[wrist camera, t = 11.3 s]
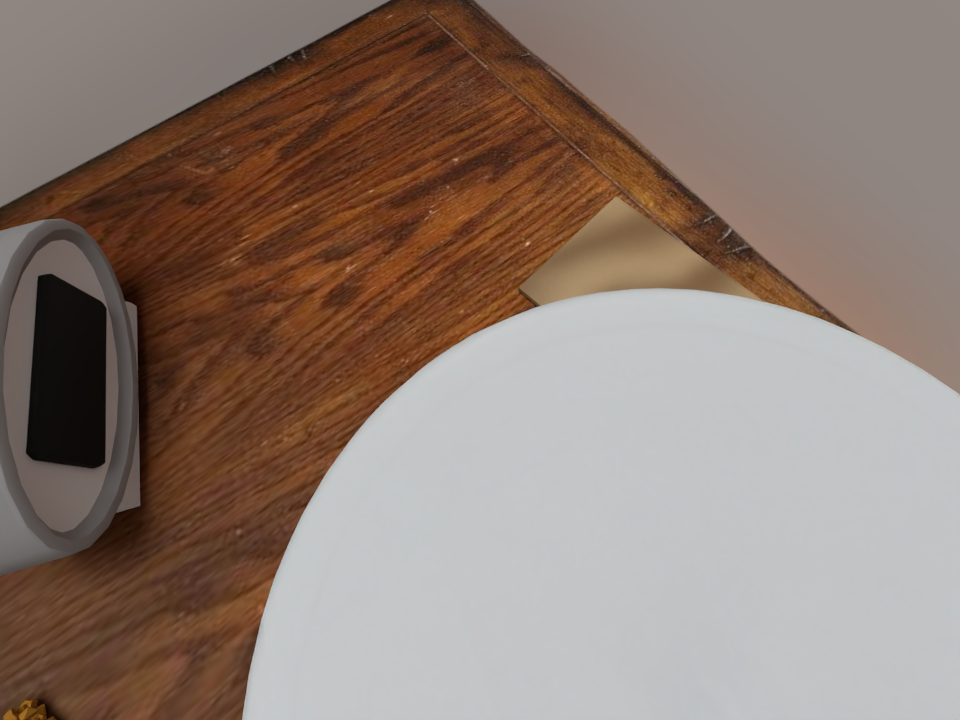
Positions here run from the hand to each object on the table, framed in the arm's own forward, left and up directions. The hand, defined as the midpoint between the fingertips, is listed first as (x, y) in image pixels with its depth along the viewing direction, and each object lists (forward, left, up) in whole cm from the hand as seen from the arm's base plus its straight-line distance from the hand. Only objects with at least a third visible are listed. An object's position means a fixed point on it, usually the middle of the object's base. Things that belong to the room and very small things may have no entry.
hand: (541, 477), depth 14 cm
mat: (+3, -18, -19) cm, 27 cm away
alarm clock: (+28, +17, -20) cm, 38 cm away
